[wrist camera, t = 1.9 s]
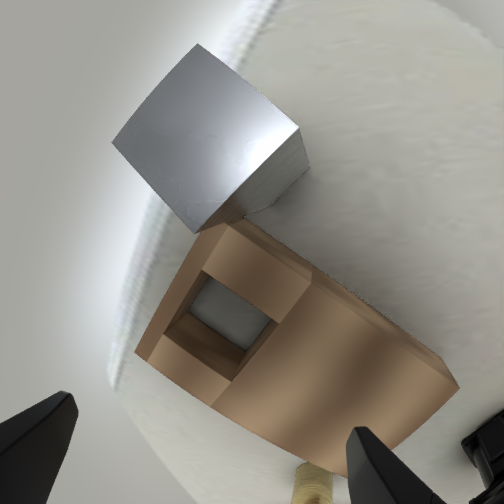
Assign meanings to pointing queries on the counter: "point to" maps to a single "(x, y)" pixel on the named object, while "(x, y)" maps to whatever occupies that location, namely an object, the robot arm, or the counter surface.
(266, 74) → the counter surface
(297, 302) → the socket block
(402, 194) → the counter surface
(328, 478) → the round bit
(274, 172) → the square bit
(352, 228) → the counter surface
